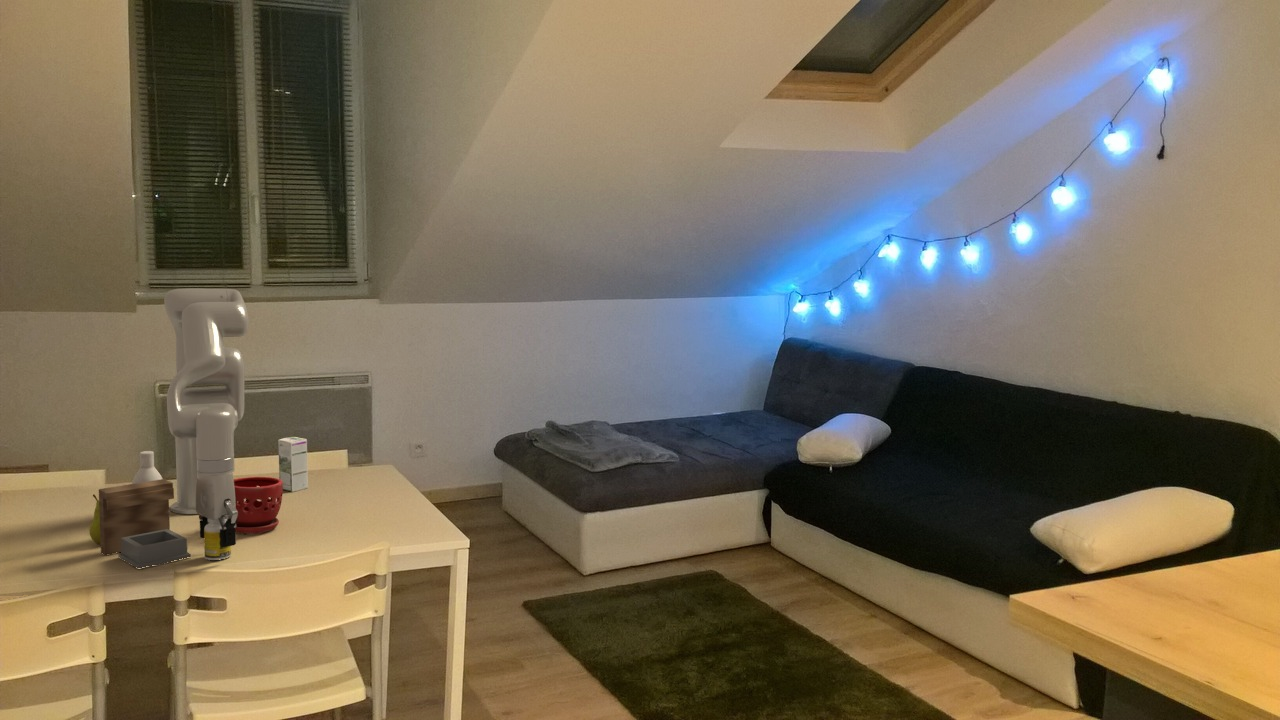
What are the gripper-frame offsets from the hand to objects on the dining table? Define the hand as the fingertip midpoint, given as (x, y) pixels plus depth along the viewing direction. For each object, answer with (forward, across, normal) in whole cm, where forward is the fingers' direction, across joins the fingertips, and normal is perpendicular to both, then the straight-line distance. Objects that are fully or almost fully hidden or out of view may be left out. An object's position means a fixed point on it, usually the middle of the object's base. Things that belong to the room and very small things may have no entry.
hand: (217, 541), depth 215 cm
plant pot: (+4, -15, +16) cm, 23 cm away
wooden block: (+4, -18, -10) cm, 21 cm away
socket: (+4, -9, -10) cm, 14 cm away
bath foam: (+4, -27, -4) cm, 28 cm away
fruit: (+4, -27, -14) cm, 31 cm away
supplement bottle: (+4, 0, 0) cm, 4 cm away
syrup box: (+3, -44, +42) cm, 61 cm away
